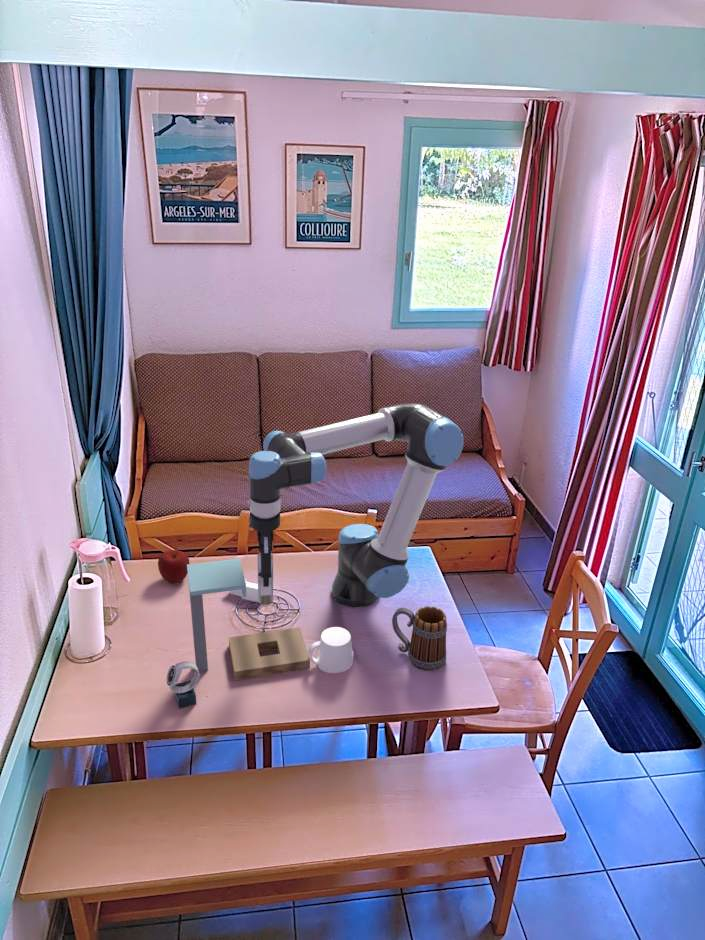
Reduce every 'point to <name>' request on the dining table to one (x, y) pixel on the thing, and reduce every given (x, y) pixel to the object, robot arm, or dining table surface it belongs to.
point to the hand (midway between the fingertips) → (265, 589)
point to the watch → (183, 684)
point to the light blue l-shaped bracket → (204, 582)
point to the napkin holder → (248, 592)
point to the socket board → (253, 665)
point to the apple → (173, 566)
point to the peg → (265, 598)
